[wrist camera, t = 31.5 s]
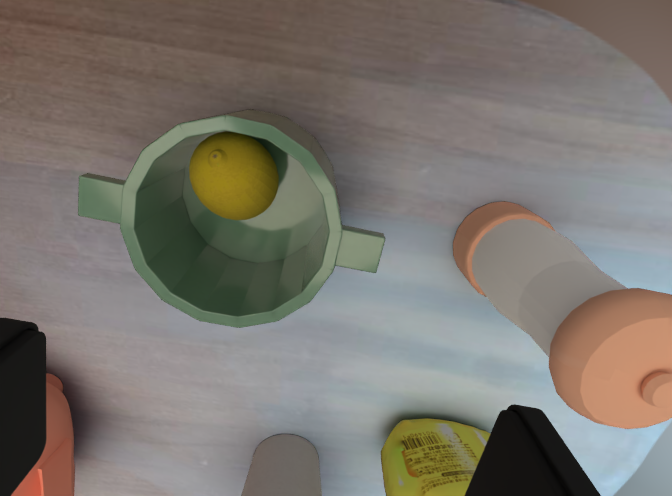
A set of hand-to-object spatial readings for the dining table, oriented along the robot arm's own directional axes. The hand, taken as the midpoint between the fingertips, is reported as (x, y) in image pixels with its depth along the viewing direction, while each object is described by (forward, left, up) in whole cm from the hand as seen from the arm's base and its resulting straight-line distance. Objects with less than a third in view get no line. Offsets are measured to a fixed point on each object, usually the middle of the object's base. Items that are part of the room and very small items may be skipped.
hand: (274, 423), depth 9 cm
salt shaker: (+2, +16, -26) cm, 31 cm away
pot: (+2, -4, -26) cm, 27 cm away
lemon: (+2, -4, -25) cm, 26 cm away
